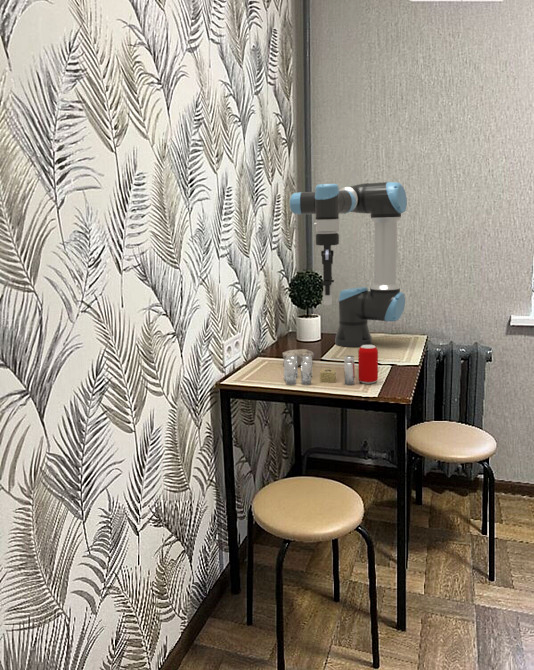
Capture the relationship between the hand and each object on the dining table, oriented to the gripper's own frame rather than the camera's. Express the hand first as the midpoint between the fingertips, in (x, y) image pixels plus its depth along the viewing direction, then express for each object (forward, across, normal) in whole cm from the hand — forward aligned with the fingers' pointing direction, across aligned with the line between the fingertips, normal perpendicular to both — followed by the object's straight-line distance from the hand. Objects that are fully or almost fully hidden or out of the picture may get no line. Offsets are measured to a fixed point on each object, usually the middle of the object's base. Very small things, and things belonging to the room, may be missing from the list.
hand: (327, 303), depth 205 cm
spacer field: (+25, +6, 0) cm, 26 cm away
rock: (+25, -15, -12) cm, 32 cm away
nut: (+25, +6, 0) cm, 26 cm away
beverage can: (+25, +8, +13) cm, 29 cm away
